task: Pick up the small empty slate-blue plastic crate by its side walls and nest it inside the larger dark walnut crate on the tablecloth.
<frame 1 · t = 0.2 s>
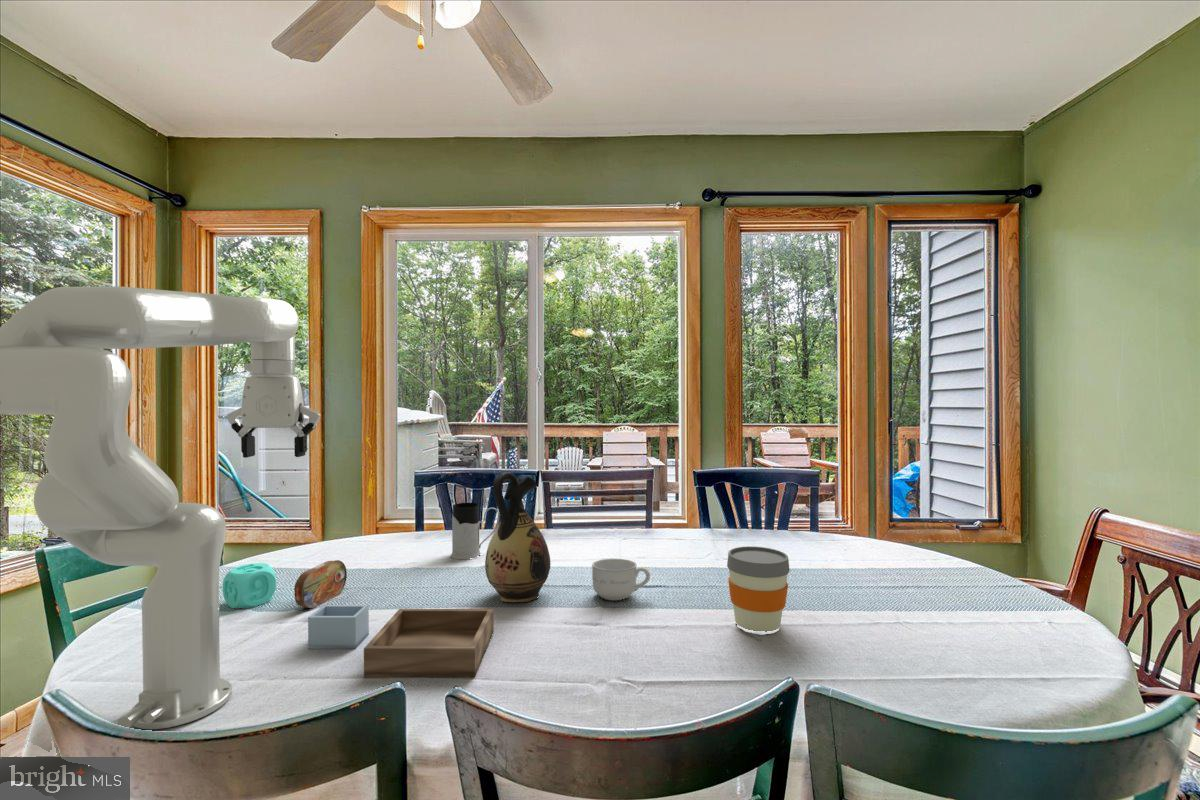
hand: (274, 456, 109), 36 cm above the table, tool pointing down, fingers open, 9 cm apart
tin: (321, 601, 129), on the table
teacup: (620, 598, 131), on the table
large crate: (434, 653, 103), on the table
decorative dice: (250, 603, 128), on the table
small crate: (339, 641, 108), on the table
ceramic jug: (515, 598, 131), on the table
reusable coffee cup: (757, 626, 115), on the table
glass holder: (475, 555, 165), on the table
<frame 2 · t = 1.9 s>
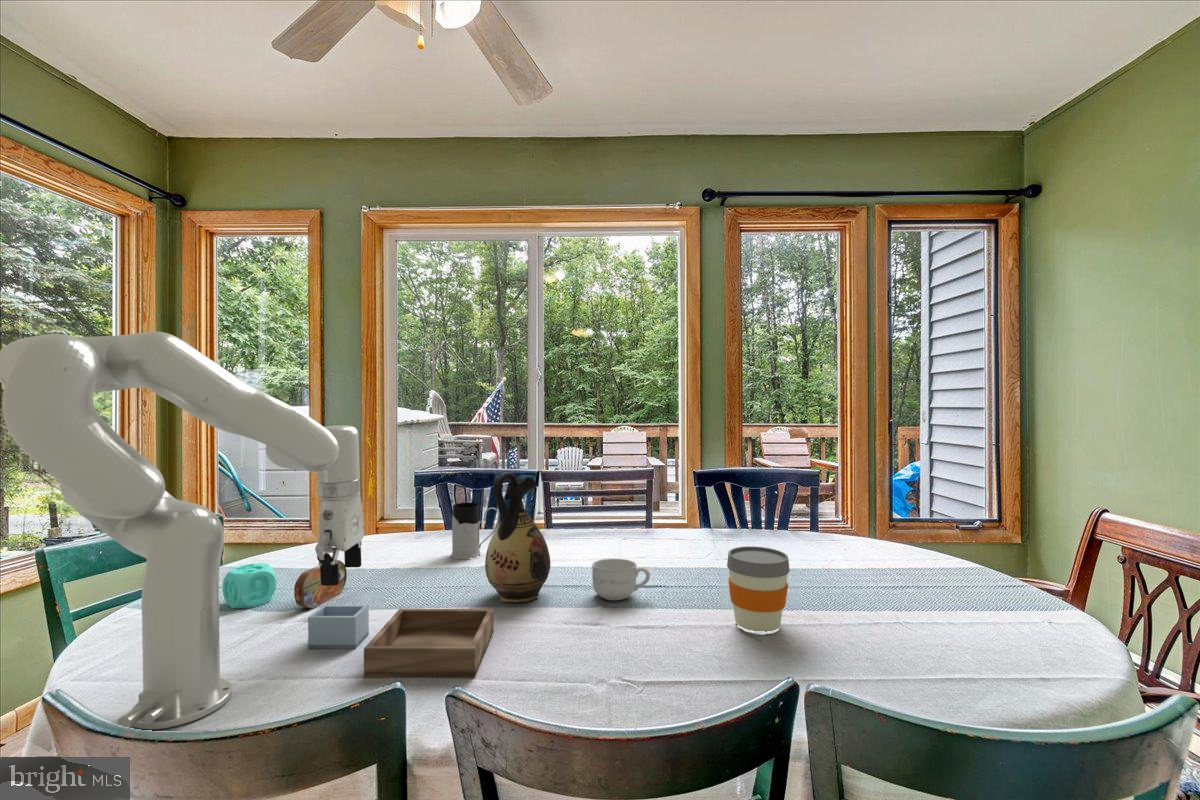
hand: (342, 575, 108), 13 cm above the table, tool pointing down, fingers open, 9 cm apart
nothing on the table moved.
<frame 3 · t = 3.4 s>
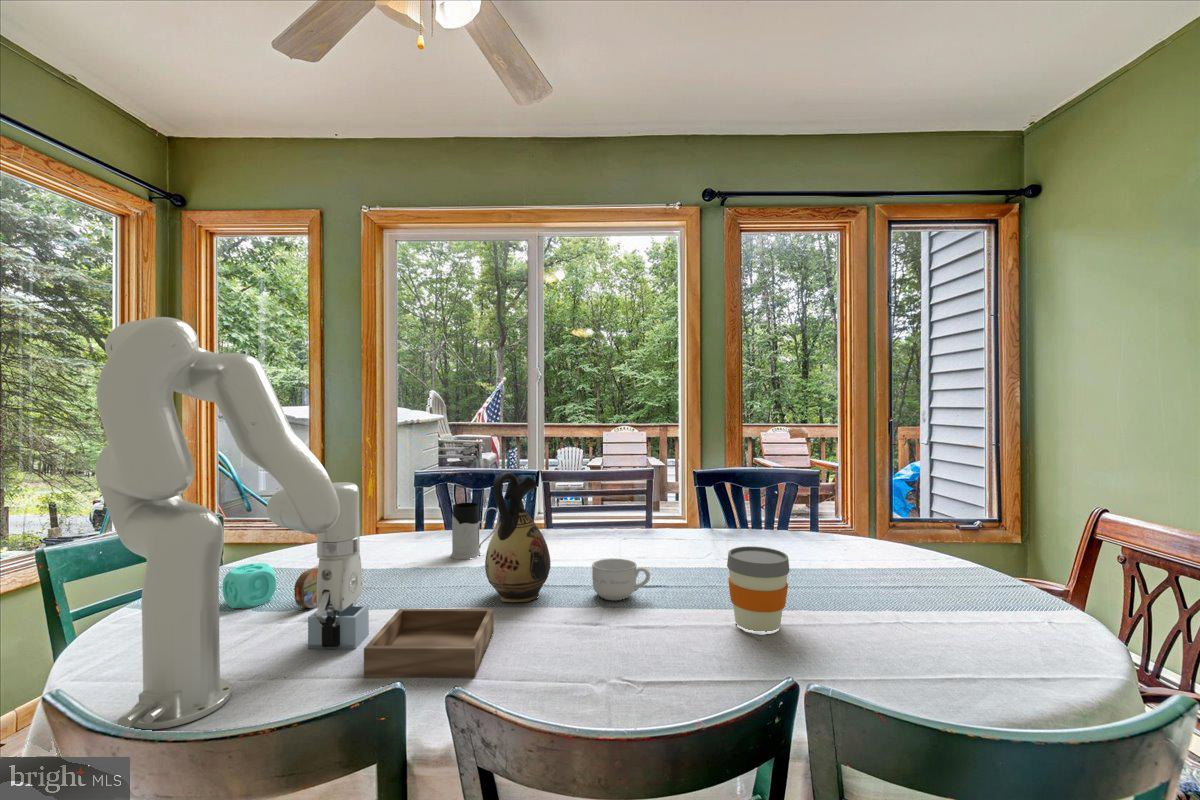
hand: (339, 637, 108), 1 cm above the table, tool pointing down, fingers closed on small crate, 6 cm apart
small crate: (339, 641, 108), on the table, touching gripper
everything else where it was.
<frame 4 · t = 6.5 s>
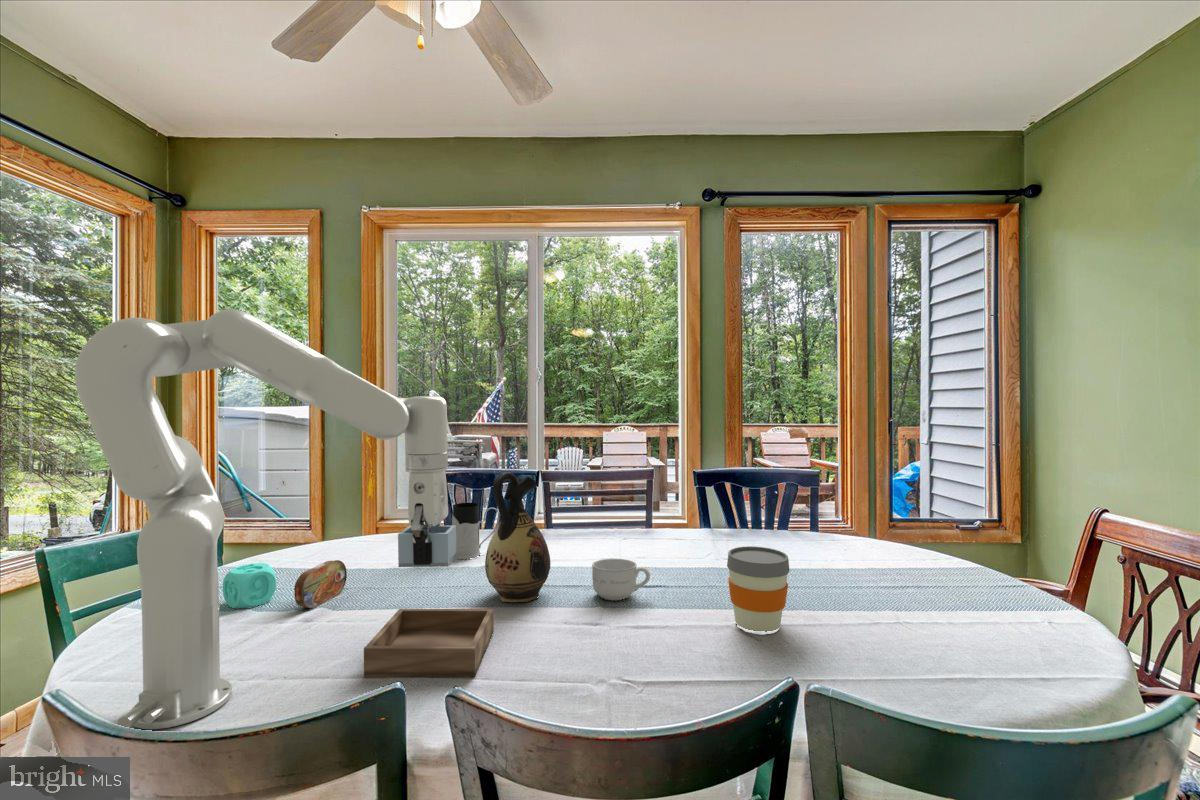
hand: (428, 557, 103), 18 cm above the table, tool pointing down, fingers closed on small crate, 6 cm apart
small crate: (428, 561, 103), point 17 cm above the table, touching gripper
everything else where it was.
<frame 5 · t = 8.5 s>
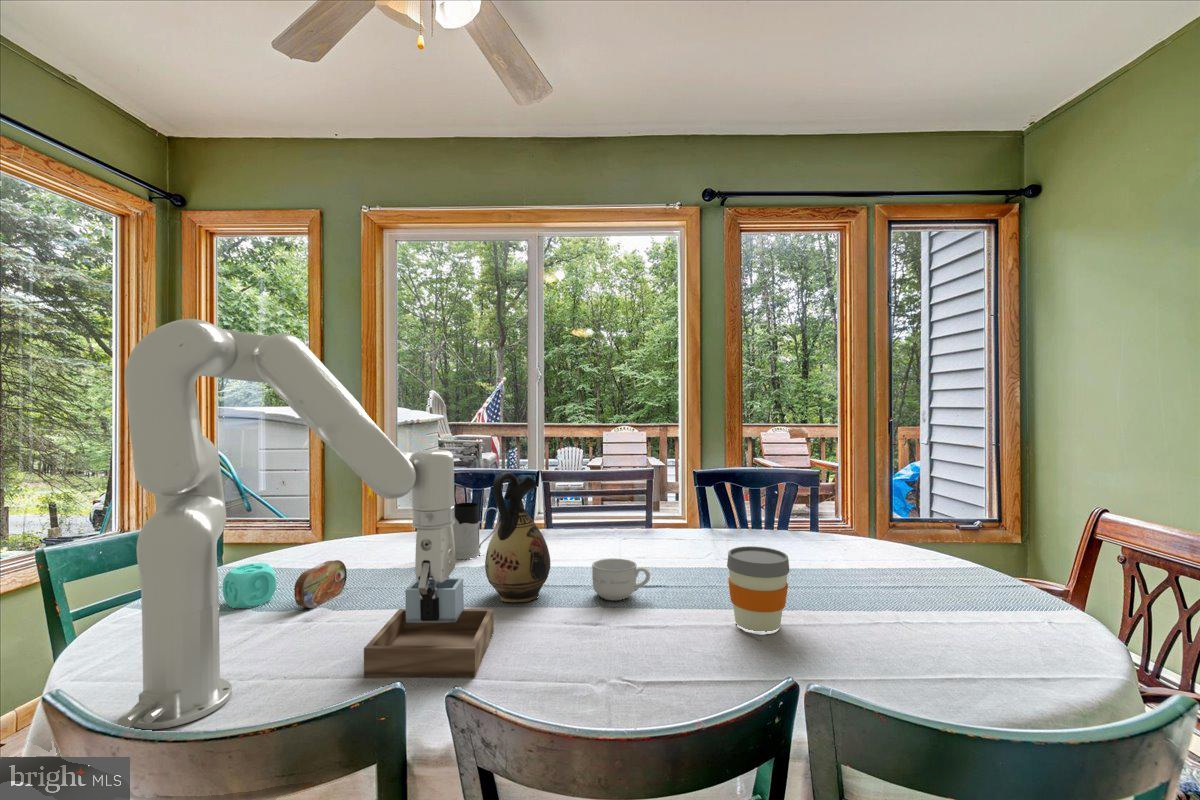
hand: (435, 611, 103), 8 cm above the table, tool pointing down, fingers closed on small crate, 6 cm apart
small crate: (435, 615, 103), point 7 cm above the table, touching gripper
everything else where it was.
when the fingers open (3 cm above the table, at t = 9.9 s): small crate drops 1 cm, resting on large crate.
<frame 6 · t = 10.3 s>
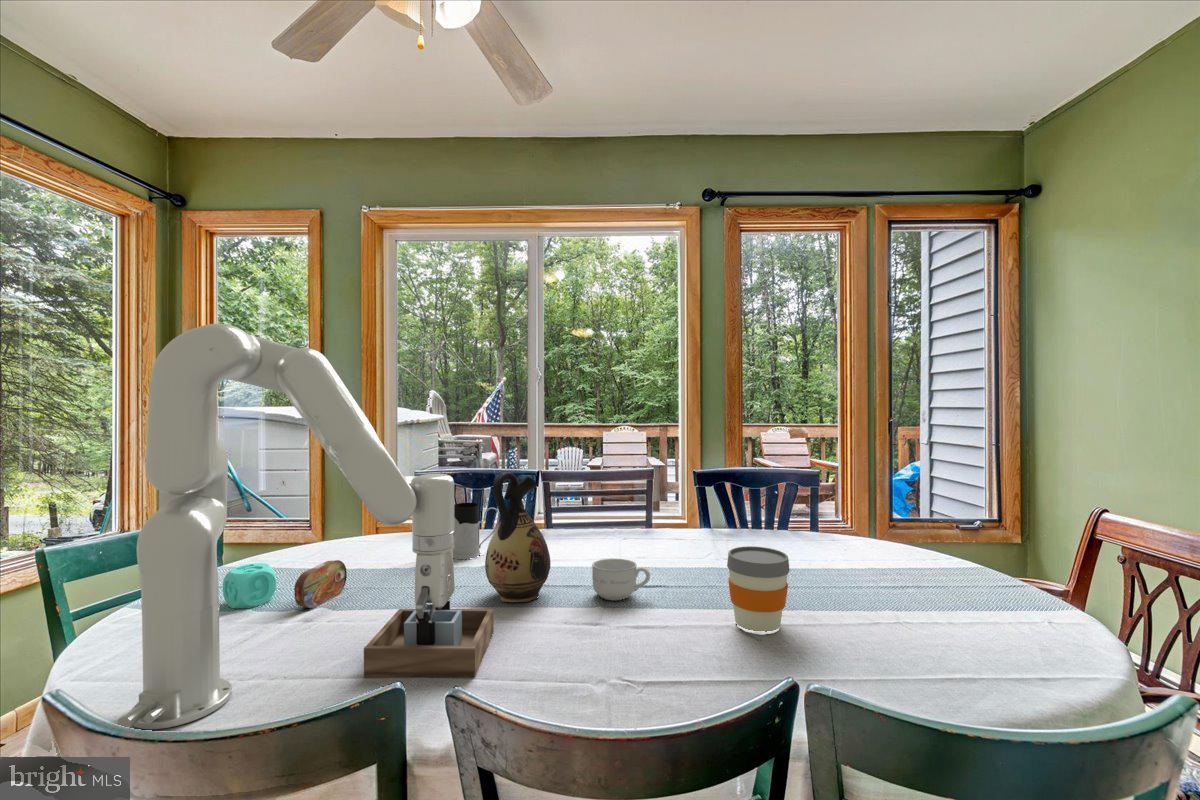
hand: (434, 632, 103), 4 cm above the table, tool pointing down, fingers open, 9 cm apart
small crate: (433, 648, 103), point 1 cm above the table, touching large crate
everything else where it was.
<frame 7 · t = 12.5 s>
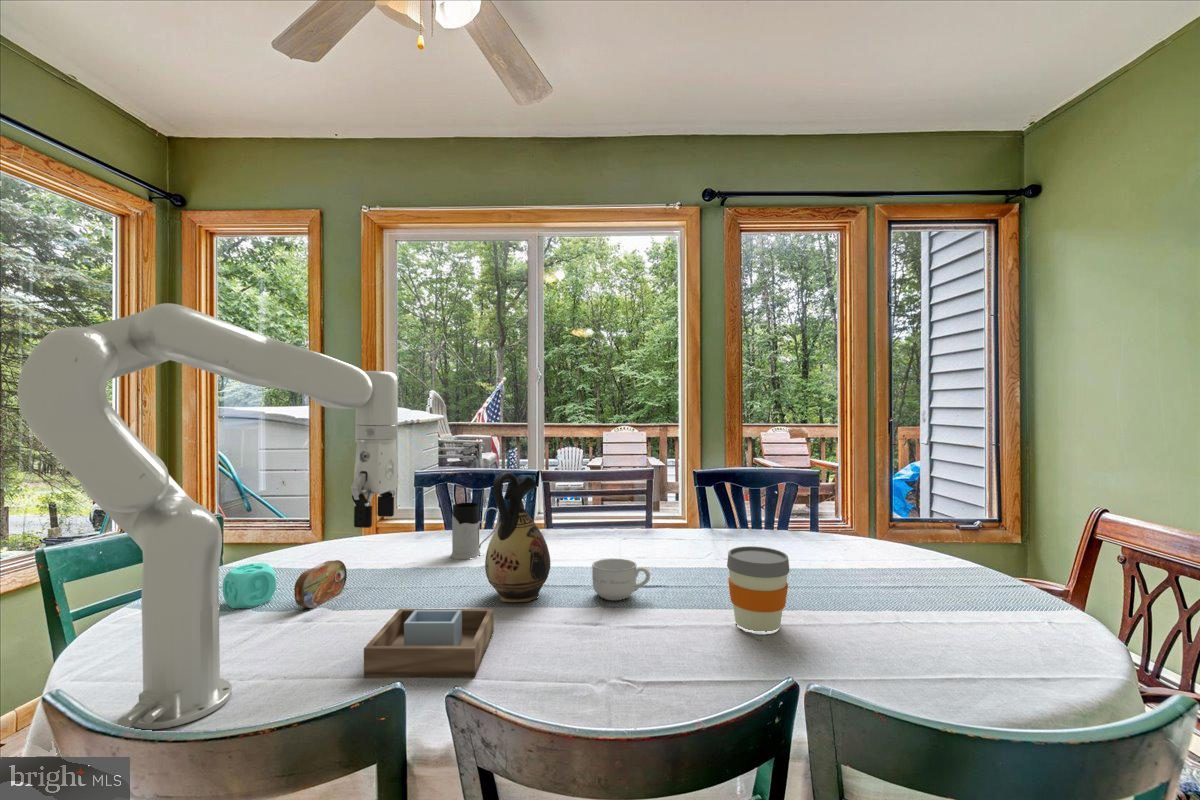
hand: (374, 521, 108), 23 cm above the table, tool pointing down, fingers open, 9 cm apart
nothing on the table moved.
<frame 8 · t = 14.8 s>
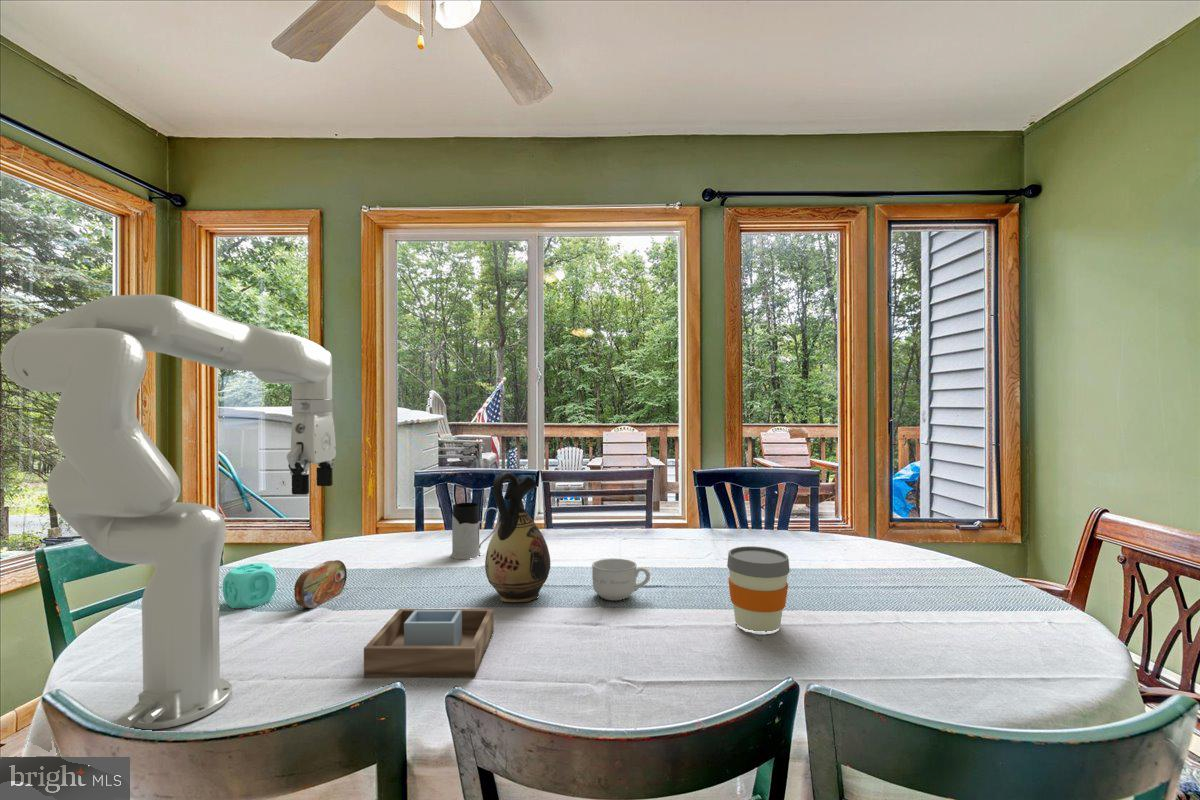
hand: (313, 489, 115), 28 cm above the table, tool pointing down, fingers open, 9 cm apart
nothing on the table moved.
at the end: small crate inside the target area on the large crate (0.0 cm from its centre), point 1.0 cm above the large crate's base; small crate tilted 0°; the gripper is holding nothing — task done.
